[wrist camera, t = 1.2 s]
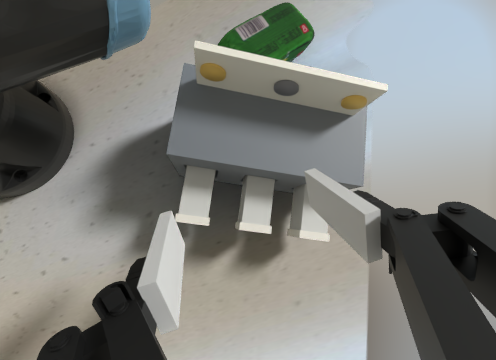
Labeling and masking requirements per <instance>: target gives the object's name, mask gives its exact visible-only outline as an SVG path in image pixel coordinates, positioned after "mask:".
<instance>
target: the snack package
mask: <svg viewBox="0 0 496 360" xmlns="http://www.w3.org/2000/svg"><path fill="white" fill-rule="evenodd" d="M313 38H314V30H313V28H312V26H311V24H310V23H309V21H308V20H307V19H306V18H305V17H304V16H303V15H302V14H301V13H300V12H299V11H298V10H297V8H296V7H294V6H293V5H292V4H291V3H282V4H279V5H277V6H274V7H272V8H270V9H269V10H267V11H265V12H263V13H261V14H259V15H257V16H255V17H253V18H251V19H249V20H247V21H246V22H244V23H242V24H240V25H238V26H236V27H235V28H233V29H232V30H230V31H229V32H228V33H227V34H226V35H225V36H224V37H223V38H222V39H221V41H220V42H219V43H218V45H217V46H222V47H226V48H230V49H235V50H239V51H243V52H248V53H252V54H257V55H261V56H265V57H270V58H274V59H278V60H283V61H287V62H289V61H291V60H292V59H294V58H296V57H297V56H299V55H300V54H301V53H302V52H303V51H304V50H305V49H306V48H307V46H308V45H309V44H310V43H311V41H312V40H313Z"/></svg>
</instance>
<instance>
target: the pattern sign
mask: <svg viewBox="0 0 496 360" xmlns="http://www.w3.org/2000/svg"><path fill="white" fill-rule="evenodd" d="M194 54H195V66H196V79H197V84H202V85H207V86H212V87H217V88H221V89H226V90H231V91H236V92H241V93H246V94H251V95H255V96H260V97H265V98H270V99H275V100H280V101H285V102H290V103H294V104H299V105H304V106H309V107H314V108H319V109H324V110H329V111H333V112H338V113H343V114H348V115H355V114H356V113H358V112H359V111H360V110H362V109H363V108H365V107H366V106H367V105H369V104H370V103H372V102H373V101H374V100H375V99H377V98H378V97H380V96H381V95H382V94H384V93H385V92H387V91H388V84H383V83H379V82H375V81H370V80H366V79H362V78H357V77H353V76H349V75H344V74H340V73H335V72H331V71H327V70H322V69H318V68H314V67H309V66H305V65H300V64H296V63H292V62H287V61H283V60H278V59H274V58H270V57H265V56H261V55H257V54H252V53H248V52H243V51H239V50H235V49H230V48H226V47H222V46H217V45H213V44H208V43H204V42H200V41H195V45H194Z"/></svg>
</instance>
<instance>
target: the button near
mask: <svg viewBox="0 0 496 360" xmlns="http://www.w3.org/2000/svg"><path fill="white" fill-rule="evenodd" d="M215 171H216V170H214V169H208V168H201V167H195V166H189V165H187V168H186V174H185V179H184V185H183V191H182V196H181V202H180V207H179V213H178V214H176V217H175V220H176V222H182V223H190V224H197V225H205V226H209V222H210V218H208V216H209V209H210V203H211V196H212V190H213V184H214V177H215Z"/></svg>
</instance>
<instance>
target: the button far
mask: <svg viewBox="0 0 496 360" xmlns="http://www.w3.org/2000/svg"><path fill="white" fill-rule="evenodd" d="M327 228H328V223H327V222H326V221H325V220H324V219H323V218H322V217H320V216H319V215H318V214H317V213H316V212H315V211H314V210H313V209H312V208H311V207H310V204H309V198H308V191H307V185H306V184H302V185H300V186H297V187H294V190H293V200H292V210H291V221H290V229H288V230H287V235H288V236H293V237H298V238H306V239H313V240H321V241H329V237H330V234H327Z"/></svg>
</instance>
